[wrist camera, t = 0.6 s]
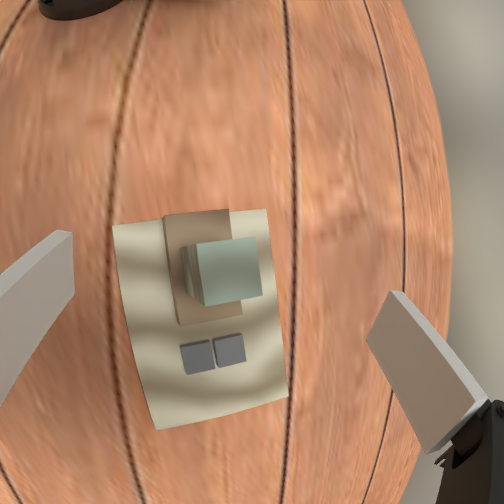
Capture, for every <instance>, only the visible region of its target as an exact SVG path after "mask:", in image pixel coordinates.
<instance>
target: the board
mask: <svg viewBox="0 0 504 504" xmlns="http://www.w3.org/2000/svg"><path fill="white" fill-rule="evenodd" d="M229 216H230V223H231V231H232V239H239V238H247V237H255V239H256V246H257V254H258V262H259V269H260V277H261V285H262V292H263V296H258V297H253V298H248V299H243V300H241V305H242V312H243V315H238V316H233V317H229V318H224V319H219V320H214V321H209V322H203V323H198V324H193V325H188V326H182V327H181V326H180V325H179V323H178V322H177V318H176V312H175V307H174V301H173V295H172V288H171V282H170V275H169V269H168V261H167V254H166V247H165V239H164V230H163V221H162V219H160V220H152V221H144V222H136V223H128V224H121V225H114V226H112V230H113V239H114V248H115V256H116V263H117V270H118V277H119V283H120V289H121V295H122V301H123V306H124V312H125V317H126V322H127V327H128V331H129V336H130V340H131V345H132V349H133V353H134V357H135V361H136V365H137V369H138V373H139V377H140V380H141V384H142V387H143V391H144V394H145V398H146V401H147V404H148V408H149V411H150V414H151V417H152V420H153V423H154V426H155V429H156V430H161V429H166V428H172V427H177V426H182V425H186V424H191V423H196V422H200V421H204V420H209V419H213V418H217V417H221V416H224V415H228V414H232V413H235V412H239V411H243V410H246V409H249V408H253V407H256V406H259V405H263V404H266V403H269V402H272V401H275V400H278V399H281V398H284V397H287V396H288V387H287V377H286V368H285V359H284V350H283V341H282V332H281V324H280V315H279V307H278V298H277V290H276V282H275V274H274V266H273V258H272V250H271V243H270V235H269V227H268V220H267V212H266V209H258V210H246V211H235V212H229ZM235 333H241V334H242V335H243V340H244V347H245V353H246V360H247V361H246V362H242V363H238V364H234V365H230V366H226V367H222V368H219V367H218V366H217V364H216V358H215V353H214V347H213V342H212V338H217V337H222V336H226V335H231V334H235ZM207 339H208V340H209V341H210V342H211V347H212V353H213V358H214V364H215V369H213V370H209V371H204V372H200V373H195V374H190V375H187V374H186V372H185V368H184V364H183V359H182V354H181V349H180V345H182V344H187V343H192V342H198V341H203V340H207Z"/></svg>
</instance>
